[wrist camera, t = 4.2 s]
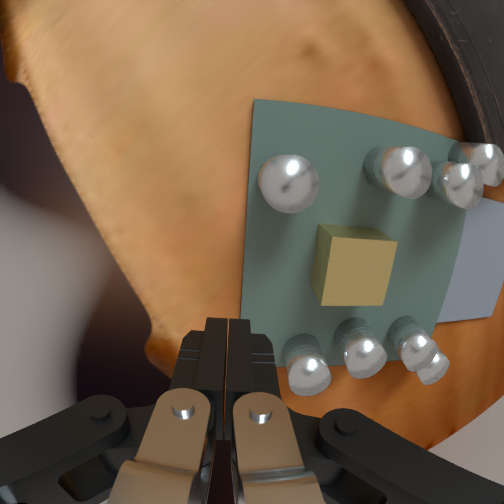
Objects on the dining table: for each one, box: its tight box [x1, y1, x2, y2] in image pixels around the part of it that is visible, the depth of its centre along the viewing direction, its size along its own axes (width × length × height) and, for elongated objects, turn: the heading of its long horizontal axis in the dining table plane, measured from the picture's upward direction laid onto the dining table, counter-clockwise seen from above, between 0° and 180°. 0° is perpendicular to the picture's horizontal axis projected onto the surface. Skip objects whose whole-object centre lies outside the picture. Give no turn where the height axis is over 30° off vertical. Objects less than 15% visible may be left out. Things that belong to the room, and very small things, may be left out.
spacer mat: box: [240, 99, 467, 367], centre depth 20 cm, size 18×20×1 cm
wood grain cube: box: [310, 224, 398, 306], centre depth 18 cm, size 4×4×3 cm
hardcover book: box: [404, 0, 504, 155], centre depth 13 cm, size 16×23×2 cm
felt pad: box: [437, 197, 504, 323], centre depth 21 cm, size 9×12×1 cm
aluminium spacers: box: [257, 142, 504, 396], centre depth 18 cm, size 18×20×4 cm
